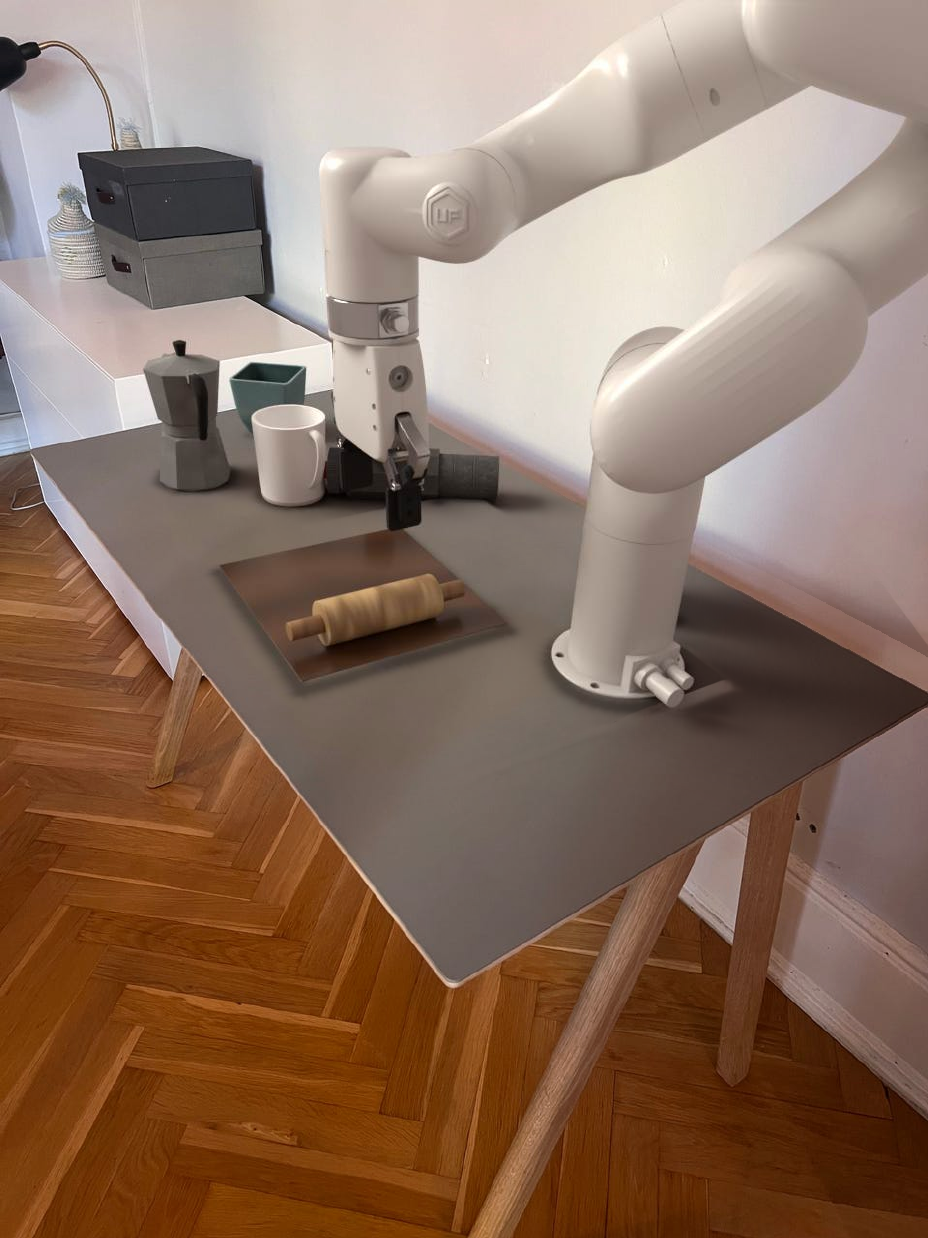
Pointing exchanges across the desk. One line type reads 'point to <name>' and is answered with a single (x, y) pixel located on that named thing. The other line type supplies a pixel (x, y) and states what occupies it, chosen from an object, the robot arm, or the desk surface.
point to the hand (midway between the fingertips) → (379, 506)
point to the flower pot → (266, 388)
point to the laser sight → (428, 476)
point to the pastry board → (342, 567)
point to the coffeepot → (188, 419)
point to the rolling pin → (375, 609)
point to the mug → (290, 454)
